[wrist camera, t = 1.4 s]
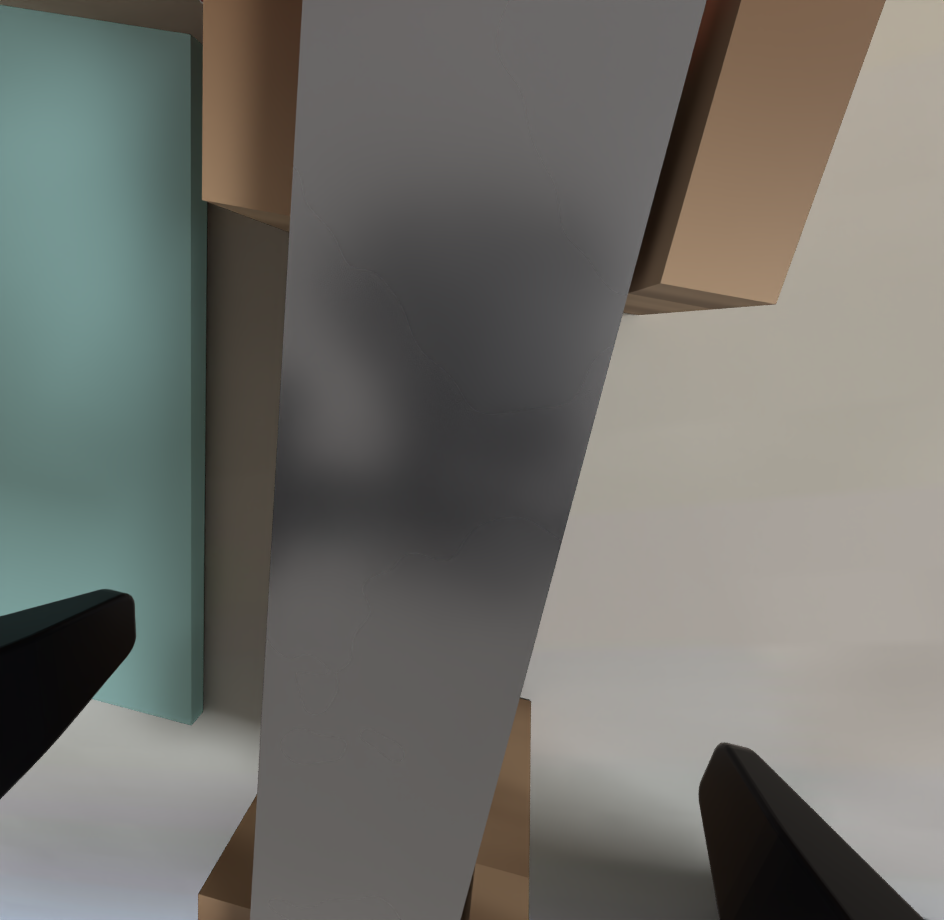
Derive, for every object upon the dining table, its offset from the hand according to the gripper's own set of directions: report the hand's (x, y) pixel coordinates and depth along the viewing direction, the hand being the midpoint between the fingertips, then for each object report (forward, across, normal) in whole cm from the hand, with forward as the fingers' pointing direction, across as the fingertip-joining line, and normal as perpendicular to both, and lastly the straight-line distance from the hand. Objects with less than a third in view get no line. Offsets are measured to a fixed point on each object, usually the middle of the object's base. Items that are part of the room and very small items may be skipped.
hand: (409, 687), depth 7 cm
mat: (+7, +12, 0) cm, 14 cm away
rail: (+2, 0, 0) cm, 2 cm away
